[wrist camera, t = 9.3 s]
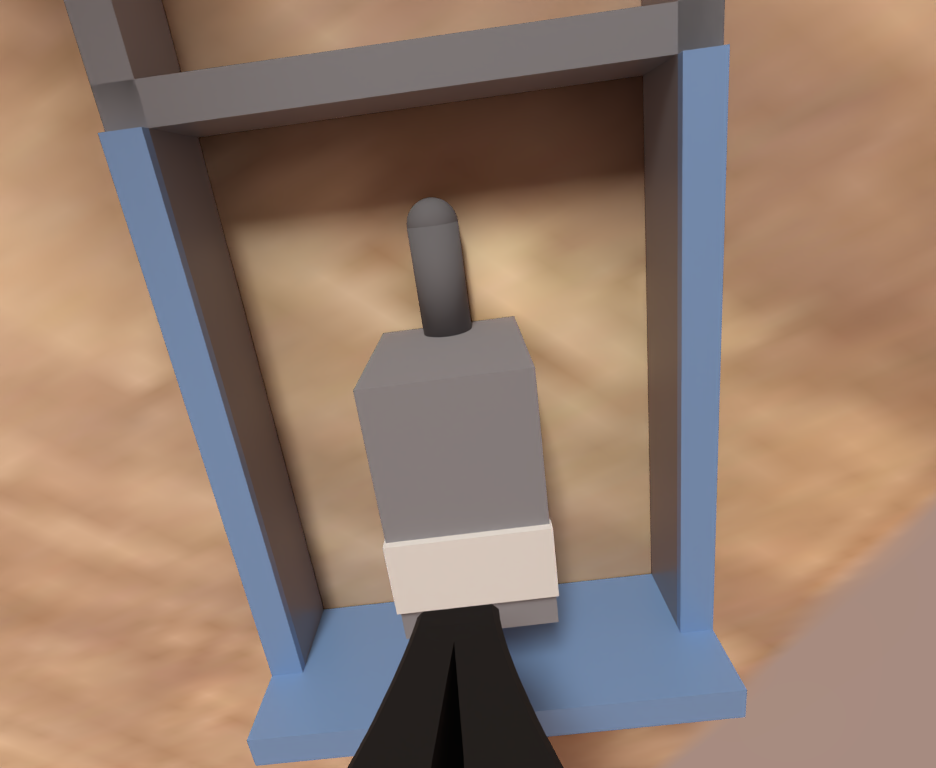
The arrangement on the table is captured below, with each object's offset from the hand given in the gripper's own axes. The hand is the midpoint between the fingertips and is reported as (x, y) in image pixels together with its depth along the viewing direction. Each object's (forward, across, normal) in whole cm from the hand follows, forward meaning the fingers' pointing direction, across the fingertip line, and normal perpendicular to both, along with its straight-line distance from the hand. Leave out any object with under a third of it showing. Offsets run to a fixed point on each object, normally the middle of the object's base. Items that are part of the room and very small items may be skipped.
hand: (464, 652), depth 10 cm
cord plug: (+9, 0, -2) cm, 9 cm away
